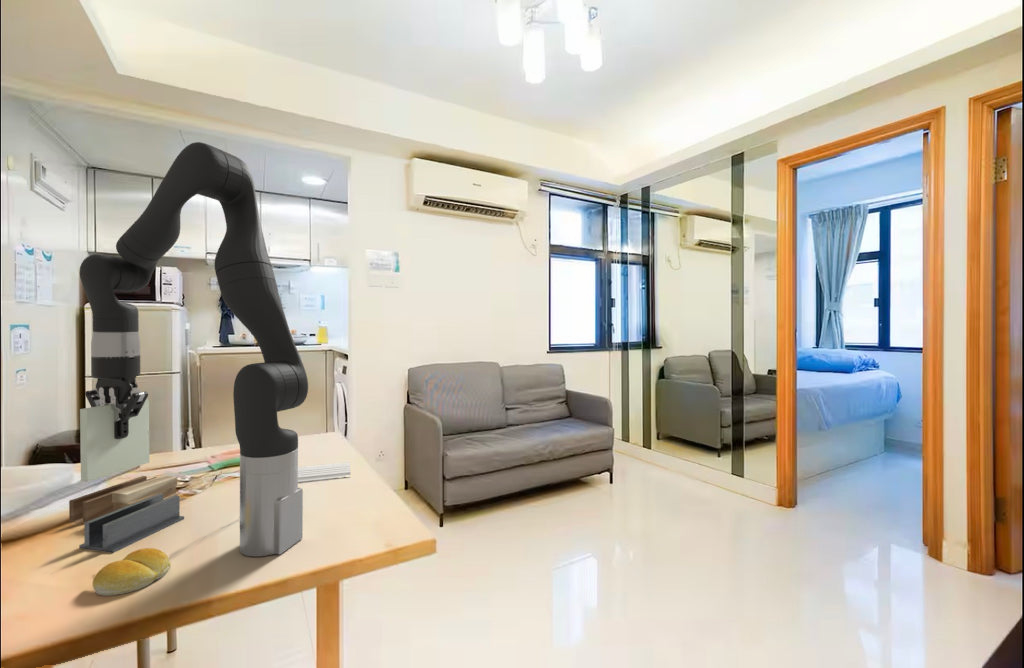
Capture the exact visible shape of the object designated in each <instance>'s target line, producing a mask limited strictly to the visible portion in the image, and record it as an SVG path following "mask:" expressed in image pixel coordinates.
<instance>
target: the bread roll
mask: <svg viewBox="0 0 1024 668" xmlns="http://www.w3.org/2000/svg"><path fill="white" fill-rule="evenodd" d="M171 566H172V564H171V561H170V557H169V556H168V555H167V554H166V552H163V550H160V549H158V548H155V547H154V548H153V547H150V548H149V547H147V548H140V549H137V550H134V551H132V552H129V554H127V555H126V556H125V557H124V558H123V559H121V560H116V561H113V562H110V563H108V564H106V565H104V566H103V567H102V568H101V569H100V570H98V572H97V573H96V574H95V576H94V577H93V581H92V587H93V591H94V592H95V593H96V594H97V595H99V596H105V597H107V596H108V597H110V596H117V595H123V594H127V593H133V592H135V591H138V590H141V589H143V588H145V587H147V586H148V585H151V584H152V583H153V582H154V581H157V580H159V579H161V578H162V577H163V576H165V575H166V574H167V573H168V572H169V570H170V569H171Z"/></svg>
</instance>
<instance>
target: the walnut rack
mask: <svg viewBox="0 0 1024 668" xmlns="http://www.w3.org/2000/svg"><path fill="white" fill-rule="evenodd" d="M157 477H158V476H154V477H150V478H147V476H145V475H142V476H138V477H135V478H133V479H130V480H125V481H124V482H123V481H122V482H121V483H118V484H114V485H112V486H109V487H106V488H102V489H100V490H97V491H94V492H91V493H87V494H85V495H82V496H80V497H76V498H73V499H70V500H69V501H68V507H69V510H68V511H69V512H68V515H69V520H68V522H69V523H70V522H73V523H79V524H80V523H81V524H84V523H85V522H87V521H90V520H93V519H95V518H98V517H100V516H103V515H105V514H108V513H111V512H113V502H112V493H113V492H116V491H119V490H122V489H125V488H128V487H131V486H133V485H136V484H139V483H142V482H145V481H148V480H151V479H154V478H157ZM184 500H187V497H180V502H181V501H184Z"/></svg>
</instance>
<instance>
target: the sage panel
mask: <svg viewBox="0 0 1024 668" xmlns="http://www.w3.org/2000/svg"><path fill="white" fill-rule="evenodd" d="M122 404H125V403H122ZM122 404H119V405H122ZM123 410H124V409H122V410H121V414H122V412H123ZM132 410H133V409H132ZM79 421H80V422H79V428H80V429H79V433H80V435H79V436H80V437H79V438H80V439H79V440H80V482H92V481H95V480H99V479H101V478H104V477H106V476H110V475H115V474H116V473H117V474H118V473H121V472H123V471H126V470H130V469H133V468H134V469H135V468H137V467H140V466H142V465H146V464H149V463H150V399H148V398H147V399H146V401H145V403H144V404H143V406H142V408H141V410H140V412H139V414H138V416H135V417H131V418H130V419H129V427H128V428H129V429H128V430H129V433H128V436H127V437H126V438H122V439H115V438H114V421H115V420H114V410H112V409H111V403H110V404H109V405H103V406H96V407H91V406H90V407H85V408H80V409H79Z"/></svg>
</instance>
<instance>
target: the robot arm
mask: <svg viewBox="0 0 1024 668" xmlns="http://www.w3.org/2000/svg"><path fill="white" fill-rule="evenodd" d="M196 195H199V196H203V197H207V198H209V199H212V200H215V201H218V202H219V203H220V206H221V209H222V211H223V215H224V220H225V226H226V227H225V228H226V229H225V234H224V236H223V238H222V241H221V242H220V245H219V247H218V248H217V252H216V255H215V257H214V272H215V276H216V280H217V284H218V288H219V292H220V294H221V295H220V296H221V298H222V301H224V303H225V305H226V306H227V308H228V309H229V310H230V312H231V314H233V315H234V316H235V318H236V319H237V320H239V321H240V323H241V324H242V325H243V326H244V327H245V328H246V329H247V330H248V332H249V333H250V334H251V335H252V336H253V338H254V339H255V341H256V343H257V344H258V346H259V349H260V352H261V355H262V358H263V361H264V362H257V363H256V362H255V363H250V364H246V365H244V366H243V367H242V368H240V370H239V371H238V372H237V374H236V376H235V380H234V384H233V395H232V396H233V412H234V413H233V414H234V427H235V428H234V430H235V436H236V439H237V441H238V444H239V473H240V477H239V551H240V553H241V554H242V555H244V556H248V557H264V556H265V557H266V556H272V555H281V554H283V553H284V552H285V551H287V550H288V549H289V548H291V547H293V546H294V545H295V544H297V543H298V542H299V541H301V540H302V539H303V530H304V529H303V523H304V522H303V521H304V520H303V514H304V513H303V509H304V507H303V506H304V505H303V503H304V501H303V500H304V499H303V497H304V490H303V488H301V487H299V483H298V467H299V465H298V464H299V435H298V433H297V432H296V431H295V430H293V429H288V428H284V427H283V428H282V427H281V426H279V421H278V412H282V411H283V412H284V411H287V410H291V409H296V408H297V407H300V406H301V405H303V404H304V402H305V401H306V398H307V397H308V394H309V382H308V380H309V379H308V376H307V373H306V369H305V366H304V364H303V361H302V358H301V356H300V354H299V351H298V349H297V348H298V347H297V346H296V344H295V340H294V338H293V336H292V333H291V329H290V328H289V325H288V321H287V318H286V317H287V316H286V315H285V311H284V307H283V304H282V301H281V297H280V292H279V289H278V288H279V287H278V284H277V281H276V276H275V273H274V270H273V266H272V262H271V259H270V257H269V253H268V249H267V246H266V242H265V236H264V233H263V232H264V231H263V229H262V225H261V219H260V213H259V207H258V201H257V193H256V187H255V182H254V177H253V174H252V171H251V170H250V167H249V165H248V164H247V163H246V162H245V161H243V160H242V159H241V158H239V157H237V156H235V155H233V154H231V153H228V152H226V151H225V150H222V149H220V148H218V147H215V146H213V145H210V144H208V143H204V142H199V141H197V142H192V143H190V144H188V145H186V146H185V147H184V148H183V149H182V150H180V152H179V154H178V155H177V156H176V157H175V158H174V161H173V162H172V164H171V166H170V167H169V169H168V170H167V172H166V174H165V176H164V177H163V179H162V180H161V182H160V183H159V186H158V187H157V189H156V191H155V192H154V195H153V196H152V198H151V200H150V202H149V203H148V205H147V206H146V208H145V209H144V211H143V212H142V214H140V215H139V217H138V218H137V220H135V221H134V222H133V223H132V225H131V226H130V227H129V228H128V229H126V231H125V232H124V233H122V235H121V236H120V237H119V238H118V240H117V241H116V243H115V248H116V252H117V253H118V255H119V256H114V255H107V254H100V253H99V254H90V255H88V256H87V257H85V258H84V259H83V260H82V262H81V263H80V267H79V278H80V281H81V284H82V287H83V290H84V292H85V295H86V297H87V300H88V301H87V302H88V303H89V306H90V309H91V312H92V313H91V314H92V336H91V341H90V371H91V372H90V375H91V378H92V379H96V384H95V388H93V389H91V390H86V391H85V393H84V394H85V397H86V399H87V402H88V404H89V406H90V407H96V406H103V405H109V404H111V409H112V410H114V420H115V421H114V438H115V439H122V438H126V437H127V436H128V433H129V430H128V429H129V428H128V427H129V419H130V418H131V417H135V416H138V414H139V412H140V410H141V408H142V406H143V404H144V403H145V401H146V399H148V397H149V392H147V391H141V390H140V389H139V388H138V386H139V385H138V383H137V380H136V378H137V377H138V376H140V375H141V338H140V333H139V328H140V327H139V326H140V325H139V310H138V307H137V306H135V304H132V303H128V302H124V301H120V300H119V298H117V296H116V294H115V292H122V293H123V292H124V293H131V292H133V293H135V292H139V291H141V290H142V289H144V288H146V286H148V285H149V283H150V281H151V278H152V275H153V273H154V271H155V269H156V267H157V265H158V262H159V260H161V259H162V257H164V256H165V255H166V254H167V253H168V252H169V250H171V249H172V248H173V246H174V245H175V244H176V242H177V241H178V239H179V237H180V234H181V215H182V213H181V212H182V209H183V207H184V205H186V203H187V202H188V201H189V200H190V199H192V198H193V197H194V196H196ZM122 403H125V404H122ZM119 404H122V405H119ZM122 409H124V410H123V412H122V414H121V410H122ZM132 409H133V410H132Z"/></svg>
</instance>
